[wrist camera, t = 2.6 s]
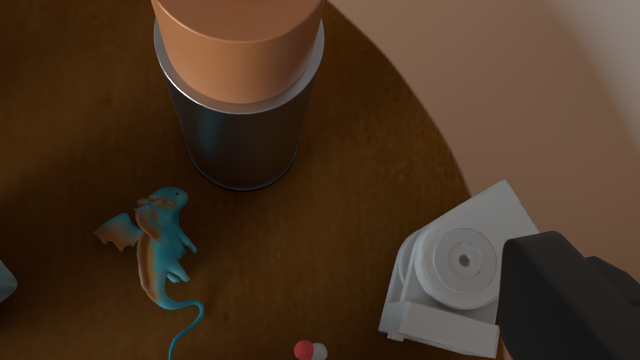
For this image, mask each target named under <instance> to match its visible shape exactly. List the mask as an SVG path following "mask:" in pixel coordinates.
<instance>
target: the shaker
mask: <svg viewBox="0 0 640 360" xmlns="http://www.w3.org/2000/svg"><path fill="white" fill-rule="evenodd" d="M154 45H155V50H156V54H157V57H158V60H159V63H160V66H161V69H162V72H163V75H164V78H165V81H166V84H167V87H168V90H169V93H170V96H171V98H172V101H173V104H174V107H175V110H176V113H177V116H178V119H179V122H180V125H181V128H182V131H183V134H184V137H185V140H186V147H187V151H188V154H189V157H190V159H191V161H192V163H193V165H194V166H195V168H196V169H197V171H198V172H199V173H200V174H201V175H202V176H203V177H204V178H205V179H206V180H208V181H209V182H210V183H212V184H214V185H215V186H218V187H220V188H222V189H225V190H228V191H234V192H252V191H257V190H261V189H263V188H266V187H268V186H270V185H272V184H274V183H275V182H277V181H278V180H279V179H280V178H282V177H283V176H284V175H285V173H286V172H287V171H288V170H289V168H290V167H291V165H292V164H293V162H294V160H295V157H296V154H297V151H298V146H299V138H300V134H301V131H302V127H303V124H304V120H305V116H306V113H307V109H308V106H309V102H310V98H311V95H312V91H313V88H314V84H315V81H316V77H317V73H318V70H319V66H320V63H321V59H322V55H323V49H324V29H323V23H322V19H321V21H320V26H319V30H318V34H317V38H316V42H315V46H314V51H313V54H312V57H311V60H310V62H309V64H308V66H307V68H306V70H305V71H304V73H303V74H302V76H301V77H300V78H299V79H298V80H297V81H296V82H295V83H294V84H293V85H292V86H291V87H289V88H288V89H287V90H285V91H284V92H282V93H281V94H279V95H277V96H274V97H272V98H270V99H267V100H264V101H260V102H254V103H244V104H239V103H228V102H223V101H219V100H216V99H213V98H210V97H208V96H206V95H204V94H202V93H200V92H198V91H197V90H195V89H194V88H192V87H191V86H190V85H189V84H188V83H186V82H185V81H184V80H183V79H182V77H181V76H180V75H179V74H178V73H177V71H176V70H175V68H174V67H173V65H172V63H171V61H170V59H169V57H168V54H167V51H166V48H165V45H164V42H163V38H162V35H161V32H160V28H159V25H158V22H157V18H156V20H155V25H154Z"/></svg>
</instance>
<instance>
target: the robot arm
mask: <svg viewBox="0 0 640 360" xmlns="http://www.w3.org/2000/svg"><path fill="white" fill-rule="evenodd" d="M498 324H499V329H500V333H501V337H502V340H503V342H504V345H505V347H506V349H507V351H508V352H509V354H510V356H511V357H512V359H513V360H640V284H639V283H638V282H637V281H636V280H634V279H633V278H632V277H631V276H630V275H629V274H628V273H626V272H624V271H622V270H620V269H619V268H617V267H615V266H613V265H611V264H609V263H607V262H605V261H603V260H602V259H599V258H598V257H596V256H592V257H587V258H584V257H583V256H582V255H581V254H580V253H579V252H578V251H577V250H576V249H575V248H574V247H573V246H572V245H571V244H570V243H569V242H568V241H567V240H566V239H565V238H564V237H563V236H562V235H561V234H560V233H558V232H556V231H549V232H544V233H538V234H533V235H528V236H523V237H518V238H512V239H508V240H507V241H506V242H505V244H504V246H503V251H502V262H501V275H500V288H499V301H498Z"/></svg>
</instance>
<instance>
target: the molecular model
mask: <svg viewBox="0 0 640 360" xmlns="http://www.w3.org/2000/svg"><path fill="white" fill-rule="evenodd" d="M294 354H295V356H296V357H297V358H298V359H299V360H325V359H326V357H327V350H326V347H325V346H324V345H323V344H321V343H313V344H312V343H311V342H309V341H307V340H301V341H299V342H298V343H297V344H296V345H295V348H294Z"/></svg>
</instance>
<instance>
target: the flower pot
mask: <svg viewBox="0 0 640 360" xmlns="http://www.w3.org/2000/svg"><path fill="white" fill-rule="evenodd" d="M16 288H17V280H16V278H15V277H14V276H13V274H12V273H11V272H10V271H9V270H8V268H7V267H6V266H5V265H4V264H3V263H2V261H1V260H0V303H1V302H2V301H3V300H5V299H6V298H7V297H9V296H10V295H11V294H12V293H13V292H14V291H15V290H16Z"/></svg>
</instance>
